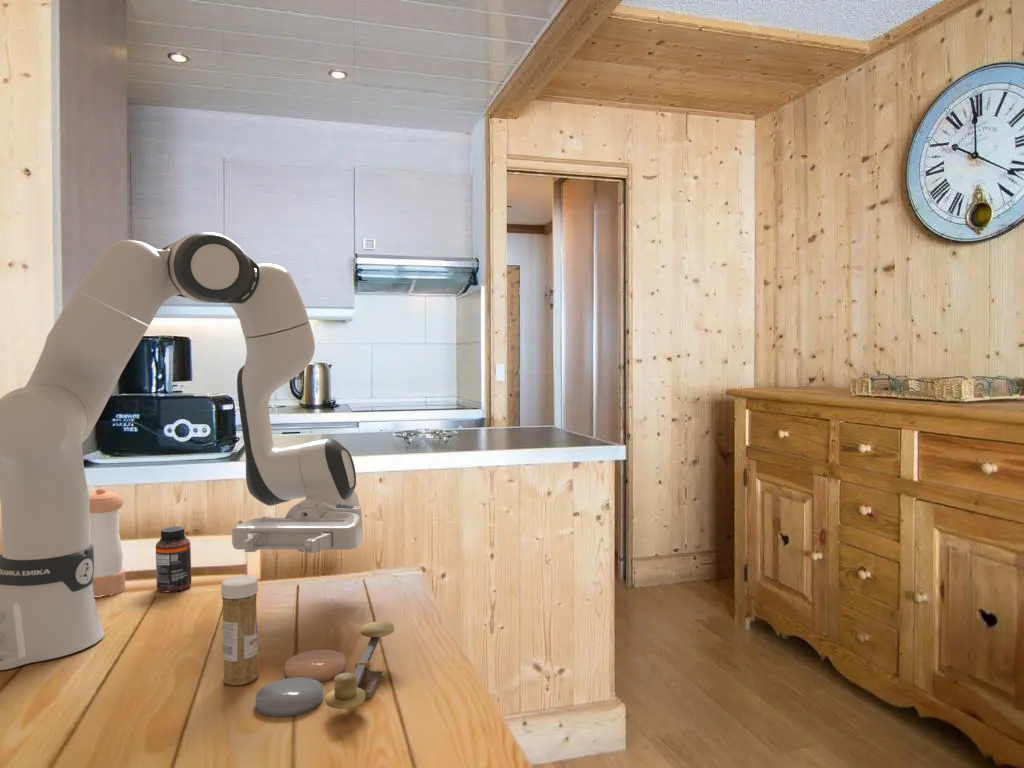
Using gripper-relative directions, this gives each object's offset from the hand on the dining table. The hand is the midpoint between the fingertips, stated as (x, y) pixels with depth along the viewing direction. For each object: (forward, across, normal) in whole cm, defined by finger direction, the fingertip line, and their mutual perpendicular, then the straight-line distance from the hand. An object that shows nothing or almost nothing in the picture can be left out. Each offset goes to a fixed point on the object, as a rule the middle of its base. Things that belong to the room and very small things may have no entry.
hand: (279, 547), depth 107 cm
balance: (+13, +16, +15) cm, 26 cm away
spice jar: (+12, -1, +15) cm, 19 cm away
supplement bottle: (-24, -31, +14) cm, 41 cm away
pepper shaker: (-20, -43, +14) cm, 49 cm away
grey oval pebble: (+18, +8, +15) cm, 25 cm away
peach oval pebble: (+9, +8, +15) cm, 19 cm away
